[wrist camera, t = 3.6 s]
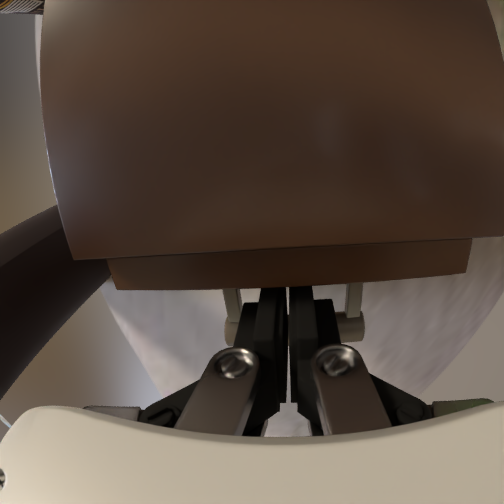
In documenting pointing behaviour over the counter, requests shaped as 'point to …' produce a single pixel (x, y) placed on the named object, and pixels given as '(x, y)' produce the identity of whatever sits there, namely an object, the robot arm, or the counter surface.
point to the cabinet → (271, 123)
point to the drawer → (294, 272)
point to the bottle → (39, 289)
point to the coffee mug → (22, 6)
